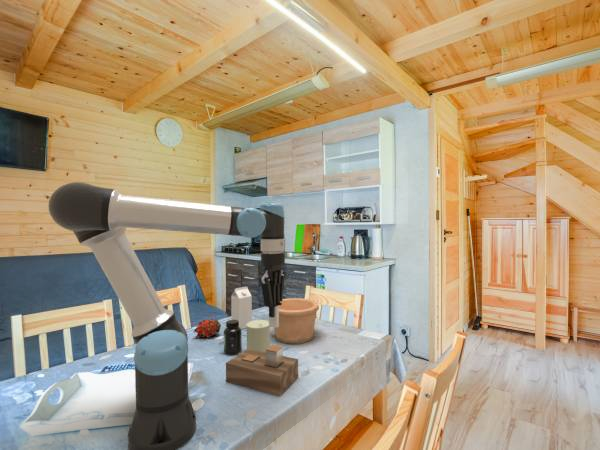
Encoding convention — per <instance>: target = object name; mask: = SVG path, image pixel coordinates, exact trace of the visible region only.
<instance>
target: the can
mask: <svg viewBox="0 0 600 450" xmlns="http://www.w3.org/2000/svg"><path fill="white" fill-rule="evenodd" d="M246 326H247V328H246V349H252V350H257V351H261V352H266V350H265V349H267V348H268V347H270V346H271V335H270V334H271V333H270V332H271V327H270V326H269V320H264V319H254V320H252V321H251V322H248V323H247V324H246Z"/></svg>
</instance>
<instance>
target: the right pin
mask: <svg viewBox="0 0 600 450" xmlns="http://www.w3.org/2000/svg"><path fill="white" fill-rule="evenodd" d="M265 350H266V366H268V367H273V368H278V367H279V366H281V365H282V364H283V356H284V347H283V346H281V345H275V344H270V347H268V348H267V349H265Z"/></svg>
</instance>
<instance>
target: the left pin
mask: <svg viewBox="0 0 600 450" xmlns="http://www.w3.org/2000/svg"><path fill="white" fill-rule="evenodd" d="M257 359H259V356H255V355H251V354H249V355H247V356H246V357H244V358H243V359H242V361H247V362H251V363H253V362H255V361H256V360H257Z"/></svg>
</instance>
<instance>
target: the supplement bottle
mask: <svg viewBox="0 0 600 450" xmlns="http://www.w3.org/2000/svg"><path fill="white" fill-rule="evenodd" d="M225 324H226V325H225V329H224V330H223V352H224V354H225V355H227V356H235V355H236V356H237V355H239V354H240V353H242V347H243V345H242V343H243V342H242V339H243V338H242V329H241V328H240V327H238V326H239V321H238V320H232V319H229V320H228V319H227V320H226V322H225Z"/></svg>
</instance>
